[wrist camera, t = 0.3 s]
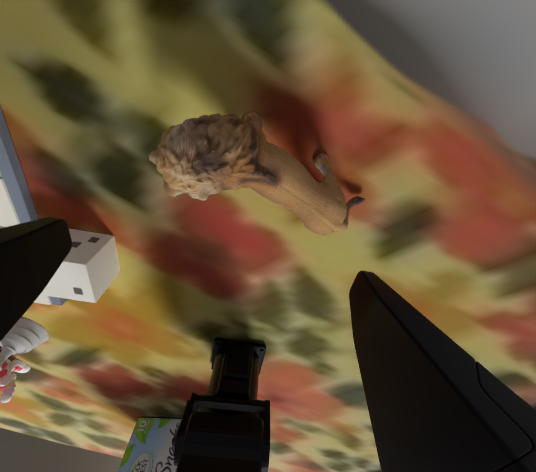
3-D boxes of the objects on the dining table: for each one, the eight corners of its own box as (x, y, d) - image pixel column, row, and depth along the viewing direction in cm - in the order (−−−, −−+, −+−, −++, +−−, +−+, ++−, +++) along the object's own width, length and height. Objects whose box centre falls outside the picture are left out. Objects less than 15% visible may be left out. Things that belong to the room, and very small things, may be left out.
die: (120, 270, 28) (95, 303, 24) (76, 264, 28) (43, 295, 24) (114, 234, 25) (84, 264, 22) (66, 227, 25) (27, 255, 21)
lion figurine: (184, 155, 21) (130, 206, 13) (201, 84, 18) (146, 97, 11) (346, 221, 24) (377, 294, 16) (382, 167, 21) (440, 225, 13)
